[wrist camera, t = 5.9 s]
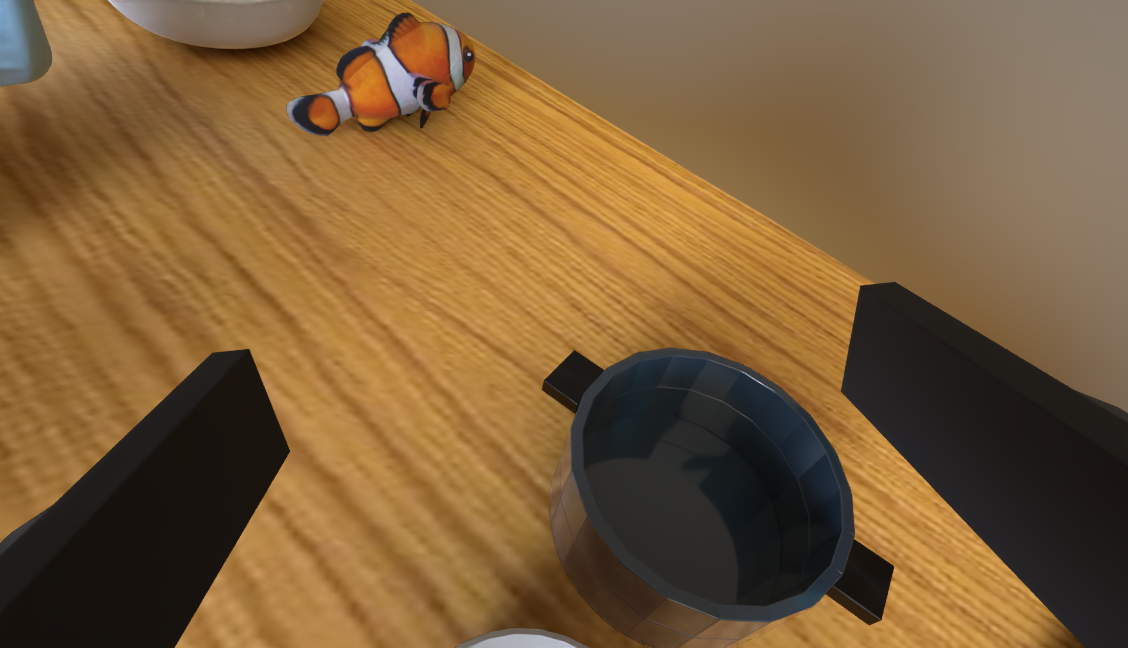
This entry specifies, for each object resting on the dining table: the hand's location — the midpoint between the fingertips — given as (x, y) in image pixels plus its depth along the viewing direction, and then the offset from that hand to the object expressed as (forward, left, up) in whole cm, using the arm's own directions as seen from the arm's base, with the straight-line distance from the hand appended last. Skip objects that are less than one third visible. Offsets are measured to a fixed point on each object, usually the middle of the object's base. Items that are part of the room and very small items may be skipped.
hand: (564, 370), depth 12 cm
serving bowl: (+25, +60, -19) cm, 68 cm away
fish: (+25, +35, -19) cm, 47 cm away
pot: (+9, -5, -19) cm, 21 cm away
